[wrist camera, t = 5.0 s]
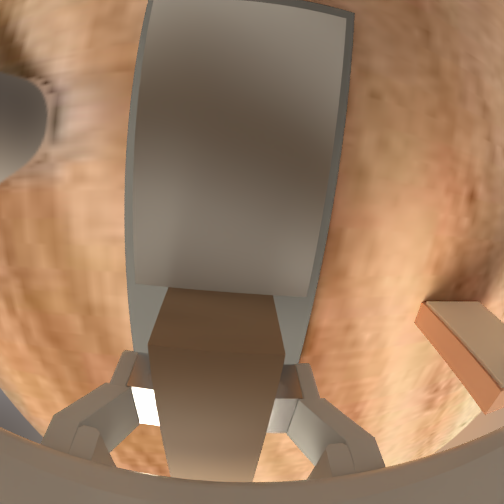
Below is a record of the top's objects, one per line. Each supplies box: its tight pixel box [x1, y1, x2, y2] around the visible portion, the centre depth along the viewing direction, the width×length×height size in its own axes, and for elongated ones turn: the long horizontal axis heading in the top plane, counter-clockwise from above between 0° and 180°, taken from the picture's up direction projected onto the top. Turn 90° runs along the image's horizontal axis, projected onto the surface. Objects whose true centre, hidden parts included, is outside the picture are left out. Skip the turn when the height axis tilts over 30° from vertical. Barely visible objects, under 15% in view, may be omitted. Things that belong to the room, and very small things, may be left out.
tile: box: [414, 301, 504, 415], centre depth 14 cm, size 2×6×9 cm, turn 84°
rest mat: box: [125, 0, 355, 364], centre depth 15 cm, size 21×10×1 cm, turn 174°
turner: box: [133, 0, 346, 482], centre depth 8 cm, size 16×5×3 cm, turn 174°
